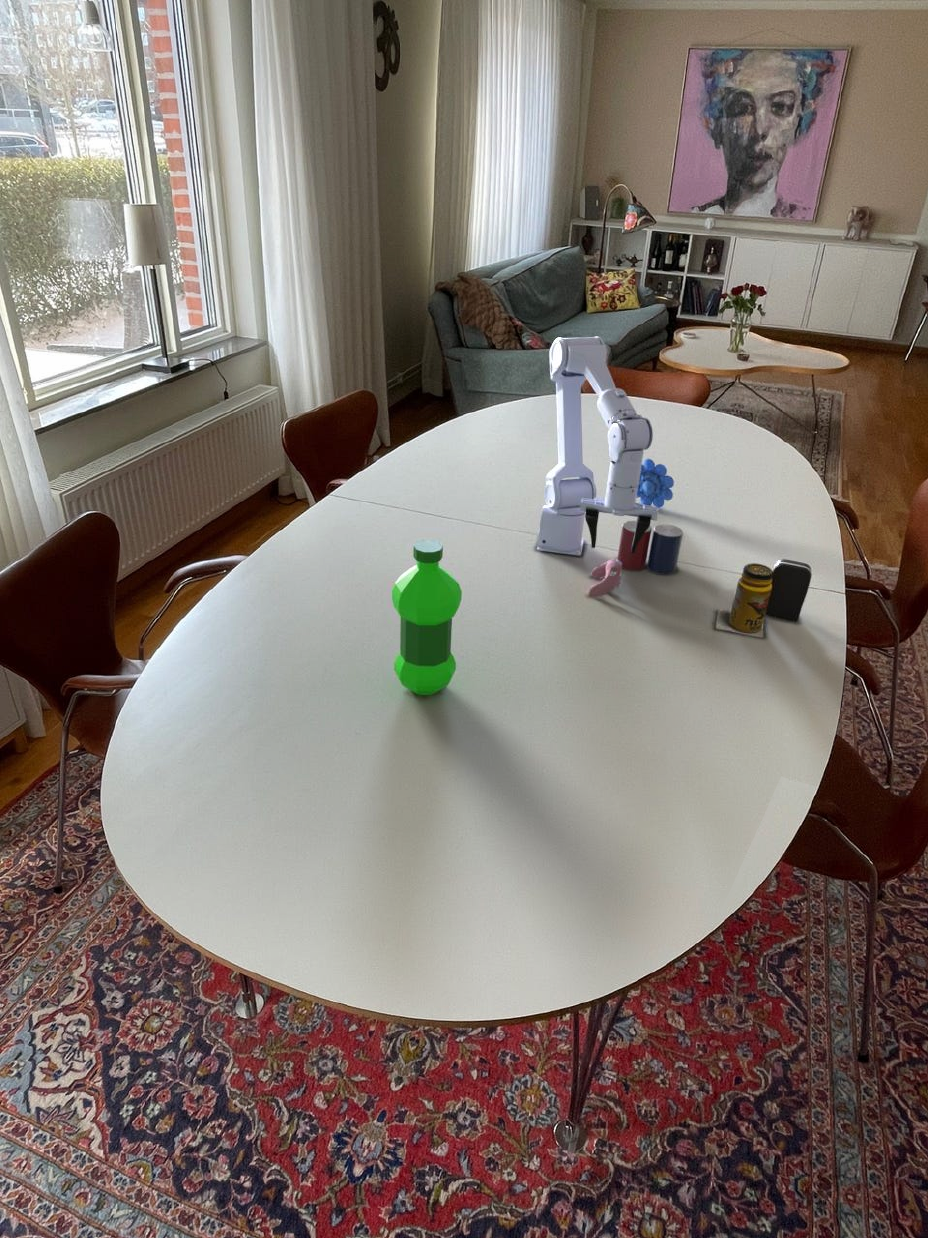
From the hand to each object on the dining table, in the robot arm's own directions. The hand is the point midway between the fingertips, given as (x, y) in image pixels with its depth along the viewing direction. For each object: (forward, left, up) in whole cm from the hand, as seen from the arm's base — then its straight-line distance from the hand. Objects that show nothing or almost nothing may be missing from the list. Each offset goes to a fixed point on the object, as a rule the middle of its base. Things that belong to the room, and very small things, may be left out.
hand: (613, 548), depth 163 cm
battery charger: (+33, -1, -9) cm, 35 cm away
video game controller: (-1, 0, -9) cm, 9 cm away
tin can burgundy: (+4, +13, -9) cm, 16 cm away
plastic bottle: (-27, -43, -9) cm, 52 cm away
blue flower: (+6, +46, -9) cm, 47 cm away
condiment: (+25, -7, -9) cm, 28 cm away
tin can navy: (+11, +13, -9) cm, 19 cm away
